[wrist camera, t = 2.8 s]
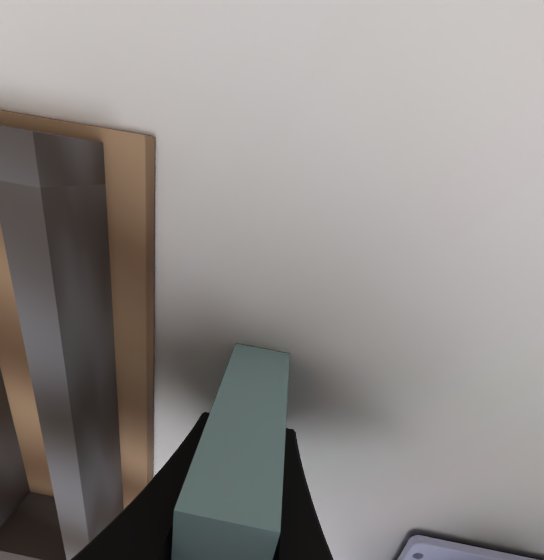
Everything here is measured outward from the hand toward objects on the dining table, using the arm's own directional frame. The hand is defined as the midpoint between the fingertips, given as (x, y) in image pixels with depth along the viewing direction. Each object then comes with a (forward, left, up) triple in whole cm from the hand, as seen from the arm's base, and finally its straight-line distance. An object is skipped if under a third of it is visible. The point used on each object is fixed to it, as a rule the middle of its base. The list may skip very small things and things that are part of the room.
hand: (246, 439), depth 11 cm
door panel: (0, 0, -2) cm, 2 cm away
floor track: (0, +9, -2) cm, 9 cm away
